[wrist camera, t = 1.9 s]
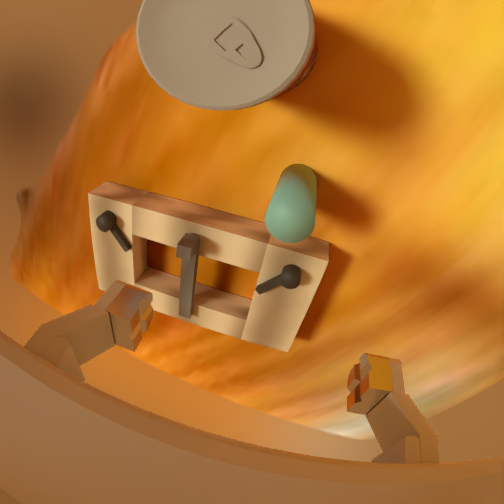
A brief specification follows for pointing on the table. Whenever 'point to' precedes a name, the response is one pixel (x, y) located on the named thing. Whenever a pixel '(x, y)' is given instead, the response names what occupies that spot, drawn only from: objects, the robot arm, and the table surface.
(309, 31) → the canned food
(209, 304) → the shelf
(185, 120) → the table surface
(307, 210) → the pale green rounded block
